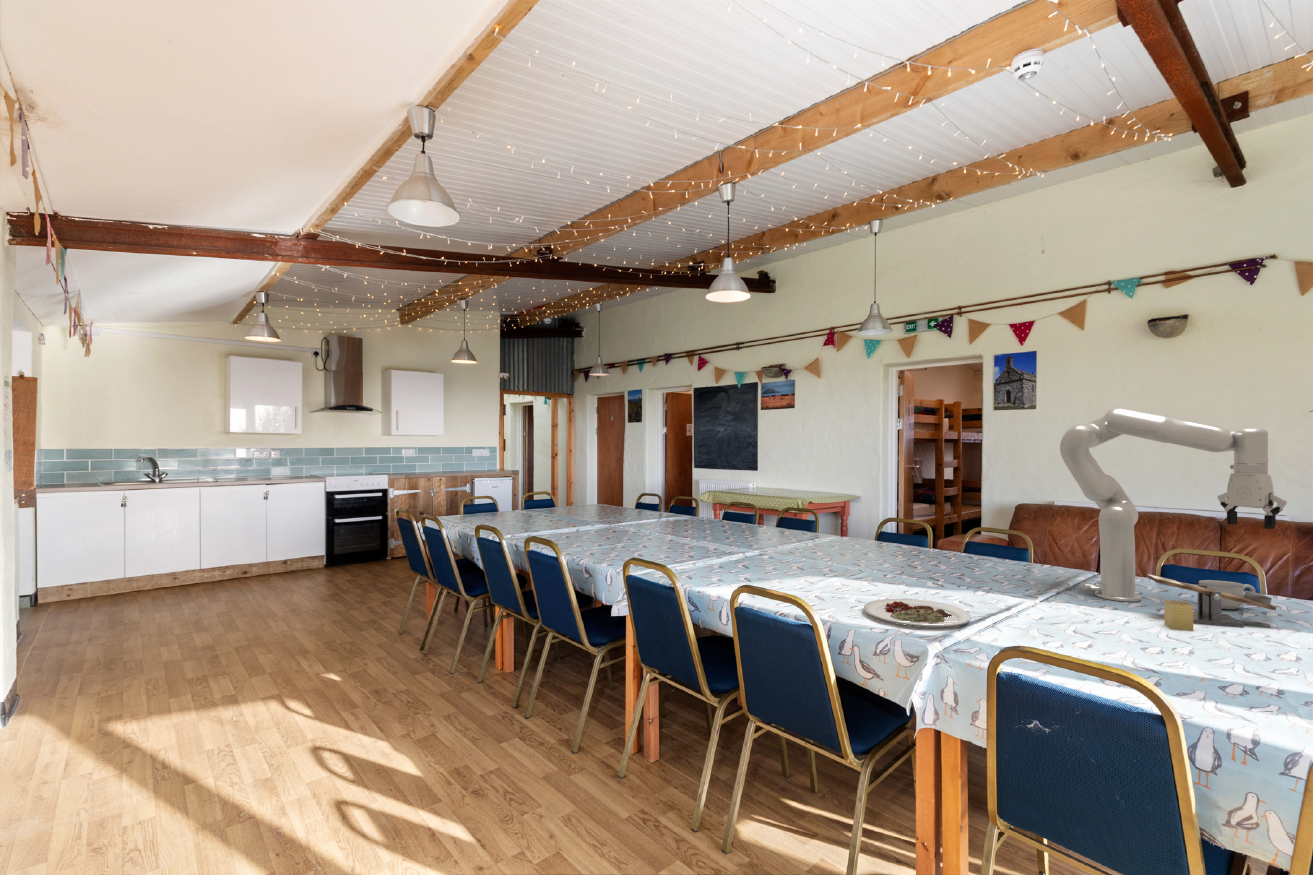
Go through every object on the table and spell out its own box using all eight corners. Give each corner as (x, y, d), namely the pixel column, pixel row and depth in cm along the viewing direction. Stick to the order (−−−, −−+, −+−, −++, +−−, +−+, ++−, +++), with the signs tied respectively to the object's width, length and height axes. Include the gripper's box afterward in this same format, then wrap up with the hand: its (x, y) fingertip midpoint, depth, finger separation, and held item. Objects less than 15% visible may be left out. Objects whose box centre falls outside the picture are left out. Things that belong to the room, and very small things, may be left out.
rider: (1171, 629, 180) (1171, 604, 180) (1164, 624, 185) (1164, 600, 185) (1193, 631, 178) (1193, 605, 178) (1185, 626, 183) (1185, 601, 183)
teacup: (1204, 609, 201) (1204, 583, 201) (1194, 601, 210) (1194, 577, 210) (1263, 614, 194) (1263, 588, 194) (1250, 606, 204) (1250, 581, 204)
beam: (1154, 581, 190) (1157, 572, 189) (1146, 577, 196) (1148, 567, 196) (1275, 610, 180) (1278, 600, 180) (1262, 604, 186) (1264, 594, 186)
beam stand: (1192, 623, 185) (1191, 590, 185) (1176, 614, 195) (1176, 582, 195) (1244, 627, 181) (1244, 594, 181) (1225, 617, 191) (1225, 585, 191)
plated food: (958, 638, 173) (957, 625, 173) (849, 619, 192) (849, 608, 192) (980, 614, 197) (980, 603, 197) (882, 599, 215) (881, 589, 215)
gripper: (1210, 468, 201) (1209, 523, 201) (1276, 471, 184) (1275, 530, 184) (1227, 467, 203) (1227, 522, 203) (1294, 470, 186) (1294, 530, 186)
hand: (1250, 526), depth 193 cm, fingers open, 9 cm apart
